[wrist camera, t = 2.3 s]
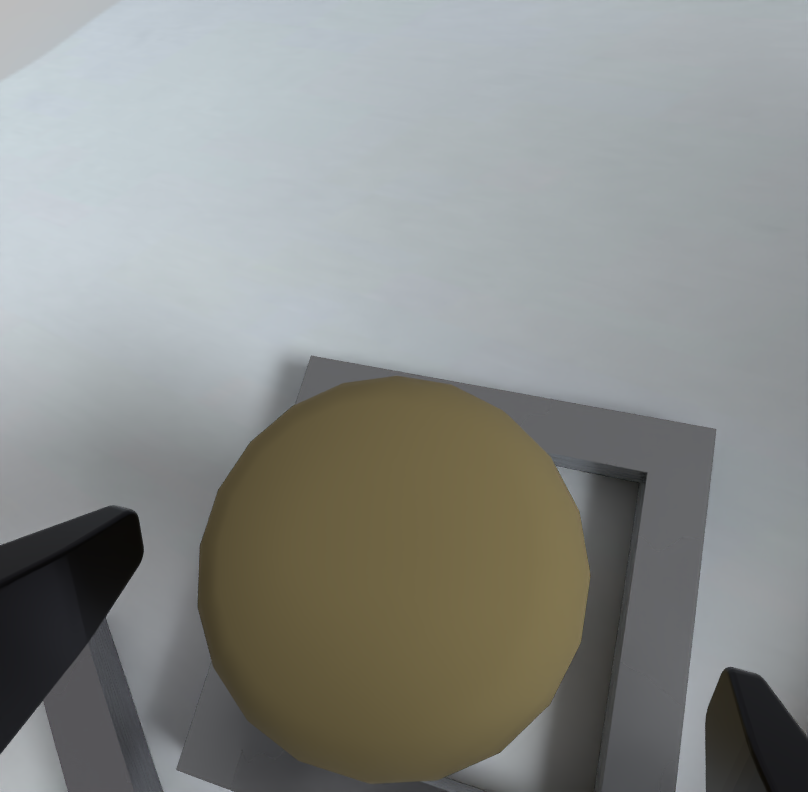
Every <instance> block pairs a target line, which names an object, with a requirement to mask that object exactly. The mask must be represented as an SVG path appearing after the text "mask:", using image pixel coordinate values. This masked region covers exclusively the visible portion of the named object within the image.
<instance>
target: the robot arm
mask: <svg viewBox="0 0 808 792" xmlns="http://www.w3.org/2000/svg"><path fill="white" fill-rule="evenodd" d="M143 553H144V546H143V540H142V534H141V529H140V523H139V517H138V515H137V513H136V512H135V511H133V510H131V509H127V508H124V507H120V506H114V505H112V506H108V507H105V508H102V509H99V510H97V511H94V512H91V513H88V514H85V515H83V516H80V517H77V518H74V519H72V520H69V521H66V522H63V523H61V524H58V525H55V526H52V527H50V528H47V529H44V530H41V531H39V532H36V533H33V534H30V535H27V536H25V537H22V538H19V539H16V540H14V541H11V542H8V543H5V544H3V545H0V754H1V753H2V752H3V750H4V749H5V748H6V747H7V745H8V744H9V743H10V741H11V740H12V739H13V738H14V736H15V735H16V734H17V733H18V731H19V730H20V729H21V728H22V726H23V725H24V724H25V723H26V721H27V720H28V719H29V718H30V716H31V715H32V714H33V712H34V711H35V710H36V709H37V707H38V706H39V705H40V704H41V702H42V701H43V700H44V699H45V697H46V696H47V695H48V694H49V692H50V691H51V690H52V688H53V687H54V686H55V685H56V683H57V682H58V681H59V680H60V678H61V677H62V676H63V675H64V673H65V672H66V671H67V670H68V668H69V667H70V666H71V665H72V663H73V662H74V661H75V659H76V658H77V657H78V656H79V654H80V653H81V652H82V650H83V649H84V648H85V646H86V645H87V644H88V642H89V641H90V639H91V638H92V637H93V635H94V634H95V632H96V631H97V629H98V628H99V626H100V625H101V623H102V622H103V620H104V619H105V617H106V615H107V614H108V612H109V611H110V609H111V608H112V606H113V605H114V603H115V602H116V600H117V599H118V597H119V595H120V594H121V592H122V591H123V589H124V588H125V586H126V585H127V583H128V582H129V580H130V579H131V577H132V575H133V574H134V572H135V571H136V569H137V568H138V566H139V564H140V563H141V560H142V557H143ZM705 749H706V792H808V737H807V736H806V735H805V733H804V732H803V731H802V729H801V728H800V727H799V725H798V724H797V723H796V721H795V720H794V719H793V717H792V716H791V715H790V713H789V712H788V711H787V709H786V708H785V707H784V705H783V704H782V703H781V701H780V700H779V699H778V697H777V696H776V695H775V693H774V692H773V691H772V689H771V688H770V686H769V685H768V684H767V682H766V681H765V680H764V679H763V678H762V677H761V676H760V675H758V674H756V673H752V672H748V671H745V670H741V669H737V668H733V667H728V668H725V669H724V671H723V672H722V674H721V676H720V678H719V681H718V683H717V686H716V688H715V691H714V693H713V696H712V698H711V701H710V703H709V706H708V709H707V713H706V722H705Z"/></svg>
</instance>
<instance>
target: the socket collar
mask: <svg viewBox="0 0 808 792" xmlns="http://www.w3.org/2000/svg"><path fill="white" fill-rule="evenodd" d="M391 376H402V377H409V378H415V379H421V380H427V381H433V382H439V383H445V384H451V385H453V386H455V387H457V388H459V389H461V390H463V391H465V392H467V393H469V394H471V395H473V396H475V397H477V398H479V399H481V400H483V401H485V402H487V403H489V404H491V405H493V406H495V407H497V408H499V409H501V410H503V411H504V412H505V413H506V414H507V415H509V416H510V417H511V418H512V419H513V420H514V421H515V422H516V423H517V424H518V425H519V426H520V427H521V428H522V429H523V430H524V431H525V432H526V433H527V434H528V435H529V436H530V437H531V438H532V439H533V440H534V441H535V442H536V443H537V444H538V445H539V446H540V447H541V448H542V449H543V450H544V451H545V452H546V453H547V454H548V455H549V456H550V457H551V458H552V460H553V462H554V464H555V465H556V466H561V467H566V468H571V469H575V470H580V471H585V472H590V473H595V474H600V475H605V476H609V477H614V478H619V479H624V480H629V481H634V482H639V490H638V497H637V504H636V511H635V517H634V524H633V531H632V538H631V545H630V551H629V558H628V565H627V572H626V578H625V585H624V592H623V599H622V606H621V612H620V619H619V626H618V633H617V640H616V646H615V653H614V660H613V667H612V674H611V680H610V687H609V694H608V701H607V708H606V714H605V721H604V728H603V735H602V741H601V748H600V755H599V762H598V769H597V775H596V782H595V789H594V792H675V789H676V780H677V772H678V763H679V754H680V745H681V736H682V727H683V719H684V710H685V701H686V692H687V683H688V674H689V666H690V657H691V648H692V639H693V630H694V621H695V613H696V604H697V595H698V586H699V577H700V568H701V560H702V551H703V542H704V533H705V524H706V515H707V507H708V498H709V489H710V480H711V471H712V462H713V454H714V445H715V436H716V429H713V428H707V427H702V426H696V425H691V424H685V423H680V422H674V421H669V420H663V419H658V418H652V417H647V416H641V415H636V414H630V413H625V412H619V411H613V410H608V409H602V408H597V407H591V406H586V405H580V404H575V403H569V402H564V401H558V400H553V399H547V398H542V397H536V396H531V395H525V394H520V393H514V392H509V391H503V390H498V389H492V388H487V387H481V386H476V385H470V384H464V383H459V382H453V381H448V380H442V379H437V378H431V377H426V376H420V375H415V374H409V373H404V372H398V371H393V370H387V369H382V368H376V367H371V366H365V365H360V364H354V363H349V362H343V361H338V360H332V359H327V358H321V357H315V356H311V357H310V360H309V363H308V366H307V369H306V373H305V376H304V379H303V382H302V385H301V388H300V391H299V394H298V397H297V400H296V403H295V405H296V404H298V403H300V402H302V401H305V400H307V399H309V398H311V397H313V396H316V395H318V394H320V393H322V392H324V391H327V390H329V389H331V388H333V387H335V386H338V385H340V384H342V383H347V382H354V381H362V380H369V379H376V378H383V377H391ZM176 770H178V771H180V772H183V773H186V774H188V775H191V776H194V777H196V778H199V779H202V780H205V781H207V782H210V783H213V784H215V785H218V786H221V787H223V788H226V789H229V790H231V791H234V792H487V791H484V790H481V789H478V788H475V787H472V786H469V785H466V784H463V783H460V782H457V781H454V780H451V779H448V778H445V777H444V778H442V779H440V780H436V781H417V782H398V783H380V784H369V783H366V782H362V781H359V780H356V779H353V778H350V777H347V776H344V775H341V774H338V773H334V772H331V771H328V770H325V769H322V768H319V767H316V766H313V765H310V764H307V763H303V762H300V761H298V760H297V759H295V758H294V757H293V756H292V755H290V754H289V753H288V752H286V751H285V750H284V749H283V748H281V747H280V746H279V745H278V744H276V743H275V742H274V741H273V740H271V739H270V738H269V737H267V736H266V735H265V734H264V733H262V732H261V731H260V730H259V729H257V728H256V727H255V726H253V725H252V724H251V723H250V722H248V721H247V719H246V718H245V716H244V715H243V713H242V711H241V710H240V708H239V707H238V705H237V704H236V702H235V700H234V699H233V697H232V696H231V694H230V693H229V691H228V689H227V688H226V686H225V685H224V683H223V682H222V680H221V678H220V677H219V675H218V674H217V672H216V671H215V669H214V667H213V664H212V661H211V664H210V668H209V671H208V674H207V677H206V680H205V683H204V686H203V689H202V692H201V695H200V698H199V701H198V704H197V707H196V711H195V714H194V717H193V720H192V723H191V726H190V729H189V732H188V735H187V738H186V741H185V744H184V747H183V750H182V754H181V757H180V760H179V763H178V766H177V769H176Z"/></svg>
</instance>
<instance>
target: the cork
mask: <svg viewBox="0 0 808 792" xmlns="http://www.w3.org/2000/svg"><path fill="white" fill-rule="evenodd" d="M590 576H591V575H590V569H589V564H588V558H587V552H586V546H585V541H584V535H583V529H582V524H581V518H580V512H579V510H578V508H577V506H576V504H575V502H574V500H573V498H572V496H571V495H570V493H569V491H568V489H567V487H566V485H565V483H564V481H563V479H562V477H561V476H560V474H559V472H558V470H557V468H556V466H555V464H554V462H553V460H552V458H551V457H550V456H549V455H548V454H547V453H546V452H545V451H544V450H543V449H542V448H541V447H540V446H539V445H538V444H537V443H536V442H535V441H534V440H533V439H532V438H531V437H530V436H529V435H528V434H527V433H526V432H525V431H524V430H523V429H522V428H521V427H520V426H519V425H518V424H517V423H516V422H515V421H514V420H513V419H512V418H511V417H510V416H509V415H507V414H506V413H505V412H504V411H503V410H501V409H499V408H497V407H495V406H493V405H491V404H489V403H487V402H485V401H483V400H481V399H479V398H477V397H475V396H473V395H471V394H469V393H467V392H465V391H463V390H461V389H459V388H457V387H455V386H453V385H451V384H445V383H439V382H433V381H427V380H421V379H415V378H409V377H402V376H391V377H383V378H376V379H369V380H362V381H354V382H347V383H342V384H340V385H338V386H335V387H333V388H331V389H329V390H327V391H324V392H322V393H320V394H318V395H316V396H313V397H311V398H309V399H307V400H305V401H302V402H300V403H298V404H296V405H294V406H292V407H291V408H290V409H289V410H287V411H286V412H285V413H284V414H283V415H282V416H280V417H279V418H278V419H277V420H276V421H274V422H273V423H272V424H271V425H270V426H269V427H267V428H266V429H265V430H264V431H263V432H262V433H260V434H259V435H258V436H257V437H256V438H255V439H253V440H252V441H251V442H250V443H249V445H248V446H247V448H246V449H245V451H244V452H243V454H242V455H241V457H240V458H239V460H238V461H237V463H236V464H235V466H234V467H233V469H232V470H231V472H230V473H229V475H228V476H227V478H226V479H225V481H224V482H223V484H222V485H221V487H220V488H219V489H218V492H217V495H216V498H215V501H214V504H213V508H212V511H211V514H210V517H209V520H208V523H207V526H206V529H205V532H204V535H203V538H202V541H201V544H200V555H199V582H198V610H199V614H200V618H201V622H202V626H203V630H204V633H205V637H206V641H207V645H208V649H209V653H210V656H211V660H212V664H213V667H214V669H215V671H216V672H217V674H218V675H219V677H220V678H221V680H222V682H223V683H224V685H225V686H226V688H227V689H228V691H229V693H230V694H231V696H232V697H233V699H234V700H235V702H236V704H237V705H238V707H239V708H240V710H241V711H242V713H243V715H244V716H245V718H246V719H247V721H248V722H250V723H251V724H252V725H253V726H255V727H256V728H257V729H259V730H260V731H261V732H262V733H264V734H265V735H266V736H267V737H269V738H270V739H271V740H273V741H274V742H275V743H276V744H278V745H279V746H280V747H281V748H283V749H284V750H285V751H286V752H288V753H289V754H290V755H292V756H293V757H294V758H295V759H297V760H298V761H300V762H303V763H307V764H310V765H313V766H316V767H319V768H322V769H325V770H328V771H331V772H334V773H338V774H341V775H344V776H347V777H350V778H353V779H356V780H359V781H362V782H366V783H369V784H380V783H398V782H417V781H436V780H440V779H442V778H444V777H446V776H449V775H451V774H453V773H455V772H458V771H460V770H462V769H464V768H467V767H469V766H471V765H473V764H476V763H478V762H480V761H482V760H485V759H487V758H489V757H491V756H494V755H496V754H498V753H500V752H501V751H502V750H503V749H504V748H505V747H506V746H507V745H508V744H510V743H511V742H512V741H513V740H514V739H515V738H516V737H517V736H518V735H519V734H520V733H521V732H522V731H523V730H524V729H525V728H526V727H527V726H528V725H529V724H530V723H531V722H532V721H533V720H534V719H535V718H536V717H537V716H538V715H539V714H541V713H542V712H543V711H544V710H545V709H546V708H547V707H548V706H549V705H550V703H551V701H552V699H553V697H554V695H555V693H556V691H557V689H558V687H559V685H560V683H561V681H562V679H563V677H564V675H565V673H566V671H567V669H568V667H569V665H570V663H571V661H572V659H573V657H574V655H575V653H576V651H577V649H578V647H579V645H580V643H581V639H582V632H583V625H584V618H585V611H586V604H587V597H588V590H589V583H590Z"/></svg>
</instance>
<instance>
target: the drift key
mask: <svg viewBox="0 0 808 792" xmlns="http://www.w3.org/2000/svg"><path fill="white" fill-rule="evenodd" d="M43 701H44V705H45V709H46V712H47V716H48V719H49V723H50V727H51V730H52V734H53V738H54V741H55V745H56V749H57V752H58V756H59V759H60V763H61V767H62V770H63V774H64V778H65V781H66V785H67V788H68V792H163V791H162V788H161V784H160V781H159V778H158V775H157V772H156V769H155V766H154V763H153V760H152V757H151V754H150V751H149V748H148V745H147V742H146V739H145V736H144V733H143V730H142V727H141V724H140V721H139V718H138V715H137V712H136V709H135V706H134V703H133V700H132V697H131V694H130V691H129V688H128V685H127V682H126V679H125V676H124V673H123V670H122V666H121V663H120V660H119V657H118V654H117V651H116V648H115V645H114V642H113V639H112V636H111V633H110V630H109V627H108V624H107V621H106V618H105V619H104V620H103V622H102V623H101V625H100V626H99V628H98V629H97V631H96V632H95V634H94V635H93V637H92V638H91V639H90V641H89V642H88V644H87V645H86V646H85V648H84V649H83V650H82V652H81V653H80V654H79V656H78V657H77V658H76V659H75V661H74V662H73V663H72V665H71V666H70V667H69V668H68V670H67V671H66V672H65V673H64V675H63V676H62V677H61V678H60V680H59V681H58V682H57V683H56V685H55V686H54V687H53V688H52V690H51V691H50V692H49V694H48V695H47V696H46V697H45V699H44V700H43Z"/></svg>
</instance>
